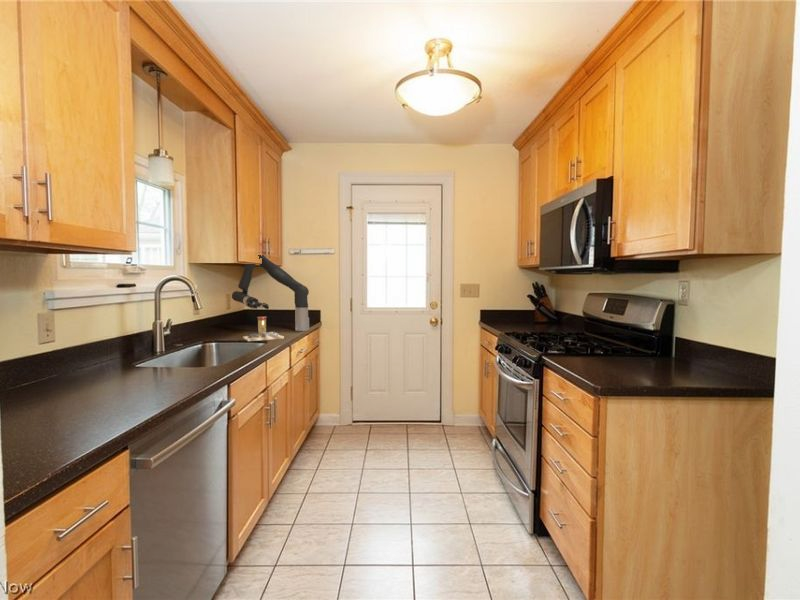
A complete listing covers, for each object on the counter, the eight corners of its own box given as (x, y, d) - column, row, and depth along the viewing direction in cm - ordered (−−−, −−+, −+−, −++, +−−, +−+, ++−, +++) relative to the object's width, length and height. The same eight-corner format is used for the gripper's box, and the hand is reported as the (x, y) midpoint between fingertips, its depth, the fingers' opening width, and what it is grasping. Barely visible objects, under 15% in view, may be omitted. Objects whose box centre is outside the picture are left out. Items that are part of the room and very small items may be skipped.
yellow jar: (265, 334, 272) (265, 316, 271) (268, 335, 267) (267, 317, 266) (256, 335, 268) (256, 316, 268) (258, 336, 263) (258, 317, 263)
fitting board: (277, 335, 266) (277, 331, 266) (283, 338, 255) (283, 333, 255) (242, 338, 253) (242, 333, 253) (248, 341, 243) (248, 335, 243)
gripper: (242, 296, 277) (253, 301, 267) (260, 297, 288) (272, 302, 278) (240, 306, 278) (251, 312, 268) (258, 307, 289) (270, 313, 279)
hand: (262, 307), depth 273 cm, fingers open, 8 cm apart
